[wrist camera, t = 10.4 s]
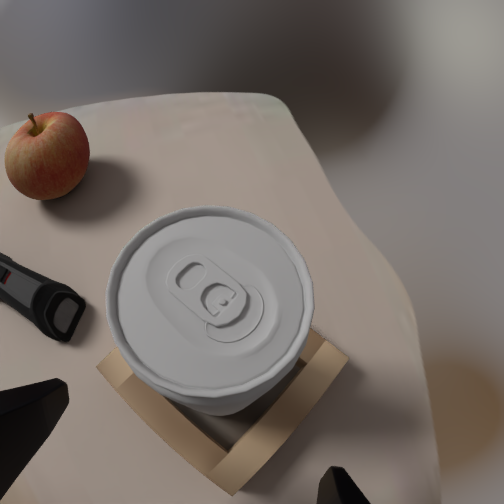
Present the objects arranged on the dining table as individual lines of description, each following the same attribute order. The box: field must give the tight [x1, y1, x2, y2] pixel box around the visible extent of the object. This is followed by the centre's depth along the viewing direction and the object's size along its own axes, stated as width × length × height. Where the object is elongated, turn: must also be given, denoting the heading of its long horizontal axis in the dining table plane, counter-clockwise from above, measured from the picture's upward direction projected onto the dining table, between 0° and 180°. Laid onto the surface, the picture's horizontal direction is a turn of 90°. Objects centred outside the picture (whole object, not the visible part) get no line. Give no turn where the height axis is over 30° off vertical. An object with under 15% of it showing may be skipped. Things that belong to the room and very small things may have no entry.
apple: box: [5, 112, 90, 200], centre depth 20 cm, size 8×8×8 cm
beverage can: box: [106, 205, 315, 416], centre depth 11 cm, size 5×5×12 cm
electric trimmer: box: [0, 253, 86, 342], centre depth 17 cm, size 4×16×3 cm, turn 73°
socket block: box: [96, 328, 349, 496], centre depth 16 cm, size 10×10×2 cm
